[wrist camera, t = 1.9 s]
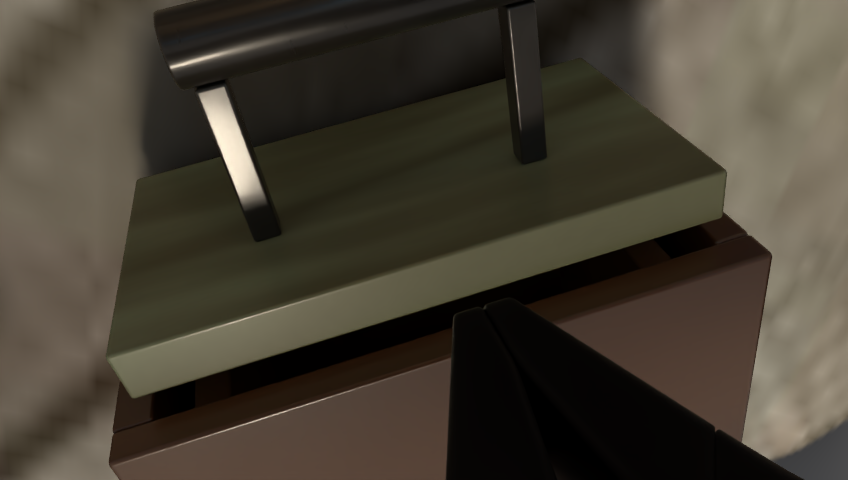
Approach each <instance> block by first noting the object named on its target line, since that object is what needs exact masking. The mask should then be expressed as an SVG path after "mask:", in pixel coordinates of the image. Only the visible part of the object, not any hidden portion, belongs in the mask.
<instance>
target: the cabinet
mask: <svg viewBox="0 0 848 480" xmlns="http://www.w3.org/2000/svg"><path fill="white" fill-rule="evenodd" d="M654 240H655V241H656V242H657V243H658V245H659V246H660V247H661V248H662V249H663V250H664V251H665V252H666V253H667V254H668V255H669V256H670V257H671V258H672V259H670V260H667V261H663V262H660V263H657V264H654V265H651V266H647V267H644V268H641V269H638V270H635V271H631V272H628V273H625V274H622V275H619V276H615V277H612V278H609V279H606V280H603V281H599V282H596V283H593V284H590V285H587V286H583V287H580V288H577V289H574V290H571V291H567V292H564V293H561V294H558V295H555V296H551V297H548V298H545V299H542V300H539V301H535V302H532V303H529V304H526V305H525V306H526V307H528V308H530V309H531V310H533V311H534V312H536V313H537V314H539V315H541V316H542V317H544V318H545V319H547V320H549V321H550V322H552V323H553V324H555V325H556V326H558V327H560V328H561V329H563V330H564V331H566V332H567V333H569V334H571V335H572V336H574V337H575V338H577V339H578V340H580V341H582V342H583V343H585V344H586V345H588V346H589V347H591V348H593V349H594V350H596V351H597V352H599V353H601V354H602V355H604V356H605V357H607V358H608V359H610V360H612V361H613V362H615V363H616V364H618V365H619V366H621V367H623V368H624V369H626V370H627V371H629V372H630V373H632V374H634V375H635V376H637V377H638V378H640V379H641V380H643V381H645V382H646V383H648V384H649V385H651V386H653V387H654V388H656V389H657V390H659V391H660V392H662V393H664V394H665V395H667V396H668V397H670V398H671V399H673V400H675V401H676V402H678V403H679V404H681V405H682V406H684V407H686V408H687V409H689V410H690V411H692V412H693V413H695V414H697V415H698V416H700V417H701V418H703V419H704V420H706V421H708V422H709V423H711V424H712V425H714V426H715V432H716V430H719V429H720V430H722V431H724V432H725V433H727V434H729V435H730V436H732V437H733V438H735V439H736V440H738V441H740V442H742V436H743V430H744V424H745V418H746V412H747V406H748V400H749V394H750V387H751V381H752V375H753V369H754V363H755V357H756V351H757V345H758V339H759V333H760V327H761V321H762V315H763V309H764V303H765V297H766V291H767V285H768V278H769V272H770V266H771V260H772V255H771V253H770V252H769V251H768V250H767V249H766V248H765V247H764V246H762V245H761V244H760V243H759V242H758V241H757V240H756V239H754V238H753V237H752V236H749V235H747V232H746V231H745V230H744V229H743V228H742V227H740V226H739V225H738V224H737V223H736V222H735V221H733V220H732V219H731V218H730V217H729V216H728V215H726V214H725V213H724V212H723V215H722V217H721V218H719V219H716V220H713V221H710V222H706V223H703V224H700V225H697V226H693V227H690V228H687V229H684V230H680V231H677V232H674V233H671V234H667V235H664V236H661V237H658V238H654ZM452 330H453V327H452V328H449V329H446V330H442V331H439V332H436V333H433V334H430V335H426V336H423V337H420V338H417V339H414V340H410V341H407V342H404V343H401V344H398V345H394V346H391V347H388V348H385V349H382V350H378V351H375V352H372V353H369V354H366V355H362V356H359V357H356V358H353V359H350V360H346V361H343V362H340V363H337V364H334V365H330V366H327V367H324V368H321V369H318V370H314V371H311V372H308V373H305V374H302V375H298V376H295V377H292V378H289V379H286V380H282V381H279V382H276V383H273V384H270V385H266V386H263V387H260V388H257V389H254V390H250V391H247V392H244V393H241V394H238V395H234V396H231V397H228V398H225V399H222V400H218V401H215V402H212V403H209V404H206V405H202V406H199V407H196V408H195V380H194V381H190V382H187V383H184V384H181V385H177V386H174V387H171V388H168V389H164V390H161V391H158V392H155V393H151V394H148V395H145V396H142V397H138V398H131V396H130V395H129V393H128V392H127V390H126V389H125V387H124V385H123V384H122V382H121V381H120V383H119V390H118V397H117V404H116V411H115V418H114V424H113V433H114V435H113V437H112V443H111V450H110V457H109V465H110V467H111V469H112V470H113V471H114V473H115V474H116V475H117V477H118V478H119V480H446V461H447V439H448V417H449V395H450V374H451V352H452Z"/></svg>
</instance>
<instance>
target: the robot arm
mask: <svg viewBox="0 0 848 480" xmlns="http://www.w3.org/2000/svg"><path fill="white" fill-rule="evenodd" d="M446 480H804V479H802V478H800V477H798V476H797V475H795V474H793V473H791V472H789V471H787V470H786V469H784V468H782V467H780V466H779V465H777V464H776V463H774V462H772V461H771V460H769V459H767V458H766V457H764V456H762V455H761V454H759V453H757V452H756V451H754V450H752V449H751V448H749V447H747V446H746V445H744V444H743V443H741V442H740V441H738V440H736V439H735V438H733V437H732V436H730V435H729V434H727V433H725V432H724V431H722V430H720V429H719V430H716V432H715V426H714V425H712V424H711V423H709V422H708V421H706V420H704V419H703V418H701V417H700V416H698V415H697V414H695V413H693V412H692V411H690V410H689V409H687V408H686V407H684V406H682V405H681V404H679V403H678V402H676V401H675V400H673V399H671V398H670V397H668V396H667V395H665V394H664V393H662V392H660V391H659V390H657V389H656V388H654V387H653V386H651V385H649V384H648V383H646V382H645V381H643V380H641V379H640V378H638V377H637V376H635V375H634V374H632V373H630V372H629V371H627V370H626V369H624V368H623V367H621V366H619V365H618V364H616V363H615V362H613V361H612V360H610V359H608V358H607V357H605V356H604V355H602V354H601V353H599V352H597V351H596V350H594V349H593V348H591V347H589V346H588V345H586V344H585V343H583V342H582V341H580V340H578V339H577V338H575V337H574V336H572V335H571V334H569V333H567V332H566V331H564V330H563V329H561V328H560V327H558V326H556V325H555V324H553V323H552V322H550V321H549V320H547V319H545V318H544V317H542V316H541V315H539V314H537V313H536V312H534V311H533V310H531V309H530V308H528V307H526V306H525V305H523V304H522V303H520V302H519V301H517V300H515V299H514V298H504V299H501V300H498V301H494V302H491V303H488V304H486V305H485V306H484V308H483V309H482V308H481V307H475V308H472V309H469V310H465V311H462V312H459V313H456V314H455V315H454V317H453V330H452V352H451V374H450V395H449V417H448V439H447V461H446Z"/></svg>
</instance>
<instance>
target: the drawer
mask: <svg viewBox="0 0 848 480" xmlns="http://www.w3.org/2000/svg"><path fill="white" fill-rule="evenodd" d="M494 8H498V13H499V22H500V31H501V41H502V50H503V59H504V68H505V79H501V80H498V81H494V82H490V83H487V84H483V85H480V86H476V87H472V88H469V89H465V90H461V91H458V92H454V93H450V94H447V95H443V96H440V97H436V98H432V99H429V100H425V101H421V102H418V103H414V104H410V105H407V106H403V107H400V108H396V109H392V110H389V111H385V112H381V113H378V114H374V115H370V116H367V117H363V118H360V119H356V120H352V121H349V122H345V123H341V124H338V125H334V126H330V127H327V128H323V129H320V130H316V131H312V132H309V133H305V134H301V135H298V136H294V137H291V138H287V139H283V140H280V141H276V142H272V143H269V144H265V145H261V146H258V147H254V148H253V146H252V143H251V140H250V137H249V135H248V132H247V129H246V126H245V124H244V121H243V118H242V115H241V113H240V110H239V107H238V104H237V102H236V99H235V96H234V93H233V91H232V88H231V85H230V82H229V80H228V78H232V77H236V76H240V75H244V74H247V73H251V72H255V71H259V70H263V69H266V68H270V67H274V66H278V65H282V64H285V63H289V62H293V61H297V60H301V59H304V58H308V57H312V56H316V55H320V54H323V53H327V52H331V51H335V50H339V49H342V48H346V47H350V46H354V45H357V44H361V43H365V42H369V41H373V40H376V39H380V38H384V37H388V36H392V35H395V34H399V33H403V32H407V31H411V30H414V29H418V28H422V27H426V26H430V25H433V24H437V23H441V22H445V21H449V20H452V19H456V18H460V17H464V16H468V15H471V14H475V13H479V12H483V11H487V10H490V9H494ZM153 18H154V26H155V31H156V35H157V39H158V42H159V45H160V48H161V51H162V54H163V57H164V59H165V62H166V64H167V67H168V69H169V71H170V73H171V75H172V77H173V79H174V81H175V82H176V84H177V85H178V87H179V88H180V89H181V90H187V89H190V88H194V87H195V94H196V97H197V99H198V102H199V104H200V107H201V109H202V112H203V114H204V117H205V119H206V122H207V124H208V127H209V129H210V132H211V134H212V137H213V139H214V142H215V144H216V147H217V149H218V152H219V154H220V157H218V158H214V159H211V160H207V161H203V162H200V163H196V164H192V165H189V166H185V167H181V168H178V169H174V170H171V171H167V172H163V173H160V174H156V175H152V176H149V177H145V178H142V179H139V180H137V182H136V188H135V194H134V199H133V205H132V211H131V216H130V222H129V228H128V234H127V239H126V245H125V251H124V256H123V262H122V268H121V273H120V279H119V285H118V290H117V296H116V302H115V308H114V313H113V319H112V325H111V330H110V336H109V342H108V347H107V353H106V359H107V361H108V362H109V364H110V365H111V367H112V368H113V370H114V371H115V373H116V375H117V376H118V378H119V379H120V381H121V382H122V384H123V385H124V387H125V389H126V390H127V392H128V393H129V395H130V396H131V398H138V397H142V396H145V395H148V394H151V393H155V392H158V391H161V390H164V389H168V388H171V387H174V386H177V385H181V384H184V383H187V382H190V381H194V380H195V408H196V407H199V406H202V405H206V404H209V403H212V402H215V401H218V400H222V399H225V398H228V397H231V396H234V395H238V394H241V393H244V392H247V391H250V390H254V389H257V388H260V387H263V386H266V385H270V384H273V383H276V382H279V381H282V380H286V379H289V378H292V377H295V376H298V375H302V374H305V373H308V372H311V371H314V370H318V369H321V368H324V367H327V366H330V365H334V364H337V363H340V362H343V361H346V360H350V359H353V358H356V357H359V356H362V355H366V354H369V353H372V352H375V351H378V350H382V349H385V348H388V347H391V346H394V345H398V344H401V343H404V342H407V341H410V340H414V339H417V338H420V337H423V336H426V335H430V334H433V333H436V332H439V331H442V330H446V329H449V328H452V327H453V317H454V315H455V314H456V313H459V312H462V311H465V310H469V309H472V308H475V307H481V308H482V309H483V308H484V306H485V305H486V304H488V303H491V302H494V301H498V300H501V299H504V298H514V299H515V300H517V301H519V302H520V303H522V304H523V305H526V304H529V303H532V302H535V301H539V300H542V299H545V298H548V297H551V296H555V295H558V294H561V293H564V292H567V291H571V290H574V289H577V288H580V287H583V286H587V285H590V284H593V283H596V282H599V281H603V280H606V279H609V278H612V277H615V276H619V275H622V274H625V273H628V272H631V271H635V270H638V269H641V268H644V267H647V266H651V265H654V264H657V263H660V262H663V261H667V260H670V259H672V258H671V257H670V256H669V255H668V254H667V253H666V252H665V251H664V250H663V249H662V248H661V247H660V246H659V245H658V243H657V242H656V241H655V240H654V238H658V237H661V236H664V235H667V234H671V233H674V232H677V231H680V230H684V229H687V228H690V227H693V226H697V225H700V224H703V223H706V222H710V221H713V220H716V219H719V218H721V217H722V215H723V206H724V196H725V187H726V177H727V172H726V170H725V169H724V168H723V167H722V166H720V165H719V164H718V163H716V162H715V161H714V160H712V159H711V158H710V157H709V156H707V155H706V154H705V153H703V152H702V151H701V150H700V149H698V148H697V147H696V146H694V145H693V144H692V143H691V142H689V141H688V140H687V139H685V138H684V137H683V136H681V135H680V134H679V133H678V132H676V131H675V130H674V129H672V128H671V127H670V126H669V125H667V124H666V123H665V122H663V121H662V120H661V119H660V118H658V117H657V116H656V115H654V114H653V113H652V112H650V111H649V110H648V109H647V108H645V107H644V106H643V105H641V104H640V103H639V102H638V101H636V100H635V99H634V98H632V97H631V96H630V95H629V94H627V93H626V92H625V91H623V90H622V89H621V88H619V87H618V86H617V85H616V84H614V83H613V82H612V81H610V80H609V79H608V78H607V77H605V76H604V75H603V74H601V73H600V72H599V71H597V70H596V69H595V68H594V67H592V66H591V65H590V64H588V63H587V62H586V61H585V60H583V59H582V58H578V59H574V60H570V61H567V62H563V63H559V64H556V65H552V66H549V67H545V68H540V55H539V41H538V28H537V15H536V3H535V1H534V0H197V1H193V2H189V3H185V4H181V5H177V6H173V7H169V8H165V9H161V10H157V11H155V12H154V17H153Z"/></svg>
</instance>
